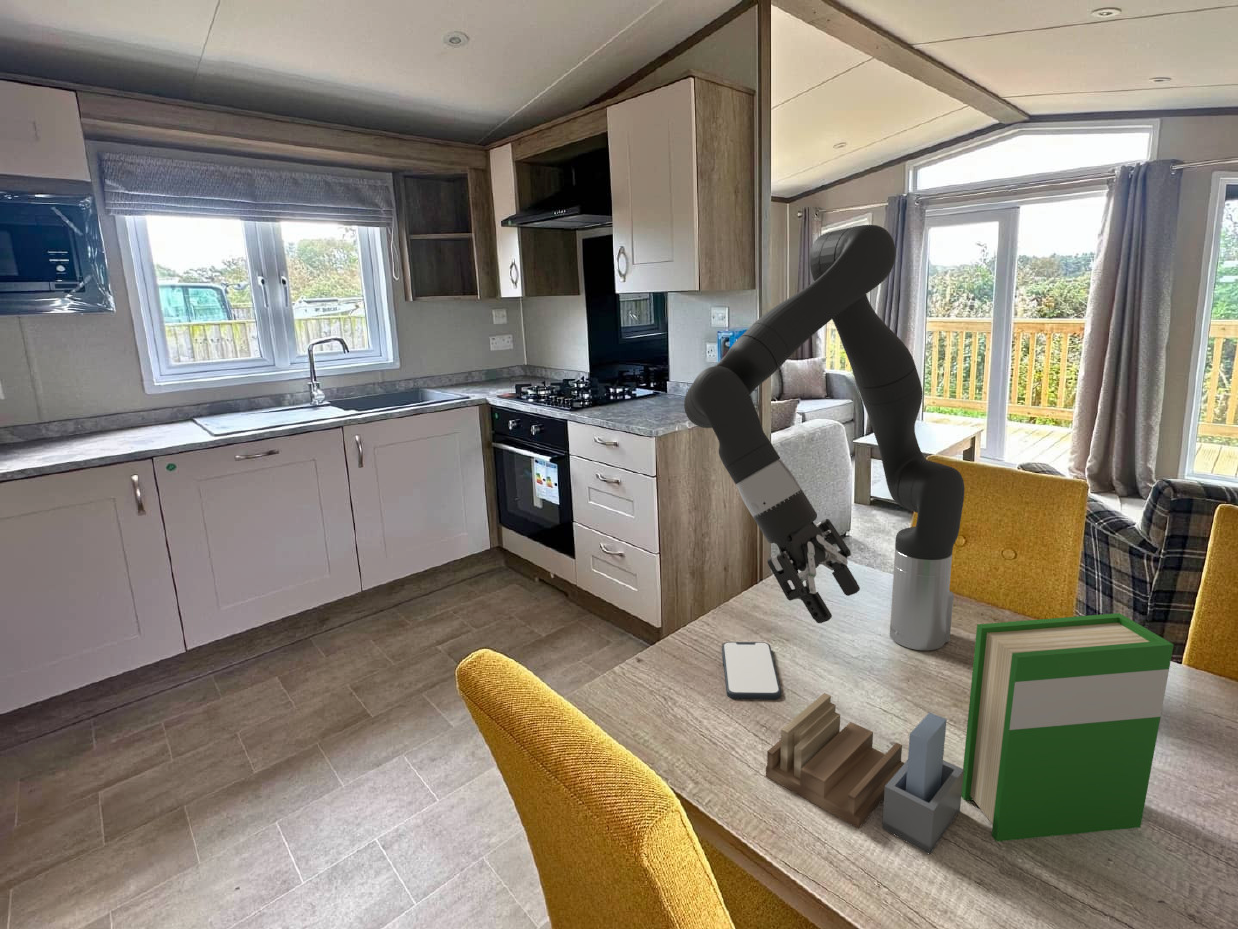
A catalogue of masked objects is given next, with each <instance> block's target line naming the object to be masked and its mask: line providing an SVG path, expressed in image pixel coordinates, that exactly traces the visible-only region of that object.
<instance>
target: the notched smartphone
mask: <svg viewBox="0 0 1238 929" xmlns="http://www.w3.org/2000/svg"><path fill="white" fill-rule="evenodd" d="M721 653H722V654H721V657H722V658H721V659H722V667H723V674H724V683H725V691H726V692H725V694H726V696H727V697H728V698H729V699H732V700H758V701H759V700H763V701H765V700H766V701H767V700H769V701H776V700H779V699H780V698H781V696H782V689H781V686H780V681H779V678H778V673H777V669H776V663H775V659H774V656H773V651H772V647H771V645H770V644H769V643H768V642H764V641H726V642H723V644H722V645H721Z"/></svg>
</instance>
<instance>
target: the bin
mask: <svg viewBox="0 0 1238 929" xmlns="http://www.w3.org/2000/svg"><path fill="white" fill-rule="evenodd" d="M907 765H908V759H907V760H906V761H905V762H904V765H903V766H902V767H901V768H900V769H899V770H898V772H897V773H896V774H895V775H894V776H893V777H892V779H891V780H890V781H889V782H888V783H887V784H886V785H885V792H884V799H883V809H882V811H883V812H882V825H881V826H882V827H881V828H883V829H882V830H885V831H887V832H888V833H890V834H892V835H893V834H895V835H896V836H895V835H894V836H895V837H897V836H898V837H897V838H898V839H901V840H902V841H904V840H905V841H904V842H906V841H907V842H906V843H908V844H909V845H912V846H913V847H915V848H917V849H919V850H920V851H923V852H924V853H926V854H928V853H929V854H928V855H931V853H932V852H933V850H934V849H935V847H936V846H937V845H938V843H939V841H941V839H942V837H943V836H944V834H945V833H946V831H947V830H948V829H949V827H950V826H951V824H952V823H953V821H955V819H956V817H957V816H958V814H959V813H960V812H961V804H962V797H961V795H962V785H963V775H964V769H963V767H960V766H957V765H956V764H953V763H951V762H950V761H949V762H948V761H946V760H944V759H943V766H942V777H941V788H940V790H939V791H938V792H937V793H936V795H935V796H934V797H933V799H932V800H931V801H930V803H928V802H926V801H924V800H922V799H920V798H918V797H916V796H914V795H912V794H910V793H908V792H906V778H907Z"/></svg>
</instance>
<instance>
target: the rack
mask: <svg viewBox="0 0 1238 929" xmlns="http://www.w3.org/2000/svg"><path fill="white" fill-rule="evenodd" d="M873 740H874V731H872V730H869V729H868V728H865V727H863V726H862V725H858V724H856V723H854V722H851V721H849V723H848V724H846V725H845V727H843V728H842V729H841V731H840V732H839V733H838V734H837V735H836V736H835V737H834V738H833V739H832V740H831V741H830V742H829V743H828V744H827V745H826V746H825V747H823V748H822V749H821V750H820V751H819V752H818V753H817V754H816V755H815V756H814V757H813V758H812V759H811V760H810V761H809V762H808V763H807V764H805V765H804V766H803V767H802V768H801V775H800V778H798V777H796V776H794V766H793V767H792V768H791V769H790V770H789V771H787V772H786V771H784V770H782V769H780V761H781V739H780V740H779V741H777V742H776V743H774V745H772V746H771V747H770V748H769V749H768V750H767V754H766V755H767V756H766V761H767V762H766V764H767V765H765V777H767V778H769V779H771V780H772V781H773V782H775V783H777V784H779V785H781V786H782V787H784V788H786V789H788V790H790V791H791V792H793V793H795V794H797V795H798V796H800V797H802V798H804V799H805V800H807V801H809V802H811V803H812V804H814V805H816V806H818V807H819V808H821V809H823V810H825V811H827V812H828V813H830V814H832V815H834V816H835V817H838V818H839V819H840V820H842V821H844V822H846V823H848V824H850V825H851V824H852V825H851V826H853V827H855V828H856V829H860V828H861V826H862V825H863V824H865V822H866V820H867V819H868V818H869V817H870V816H871V815H872V813H874V811H875V810H876V808H878V806H879V805H880V804H881V803H882V802H883V801H884V792H885V785H886V784H887V783H888V782H889V781H890V780H891V779H892V777H893V776H894V775H895V774H896V773H897V772H898V770H899V769H900V768H901V767H902V766H903V765H904V763H905V762H904V761H902V753H903V752H902V751H903V744H900V743H898V742H895V743H894V744H893V745H892V746H891V747H890V748H889V750H888V751H887V752H886V753H884V752H882V751H880V750H878V749H876V748H874V747H873V744H874V743H873Z"/></svg>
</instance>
